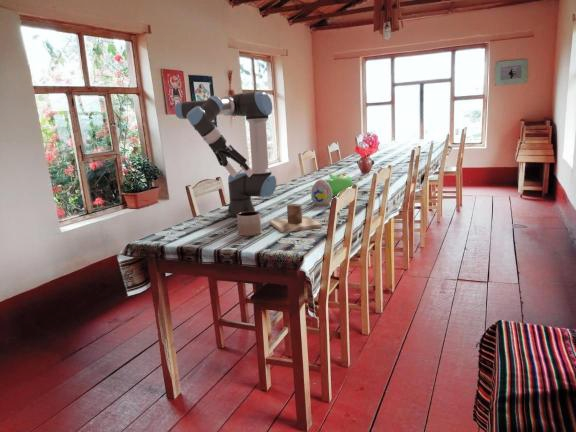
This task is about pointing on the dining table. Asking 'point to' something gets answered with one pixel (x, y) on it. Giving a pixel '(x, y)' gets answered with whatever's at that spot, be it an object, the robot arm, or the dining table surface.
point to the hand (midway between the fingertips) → (243, 175)
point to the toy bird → (339, 182)
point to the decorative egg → (321, 193)
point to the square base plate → (295, 220)
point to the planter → (249, 223)
